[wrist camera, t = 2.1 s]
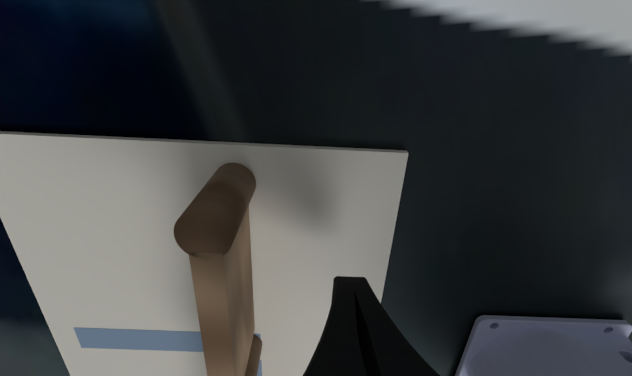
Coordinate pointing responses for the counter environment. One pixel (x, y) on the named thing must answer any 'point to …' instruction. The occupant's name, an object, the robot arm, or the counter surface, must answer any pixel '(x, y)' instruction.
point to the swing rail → (222, 267)
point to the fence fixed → (254, 357)
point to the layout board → (170, 260)
